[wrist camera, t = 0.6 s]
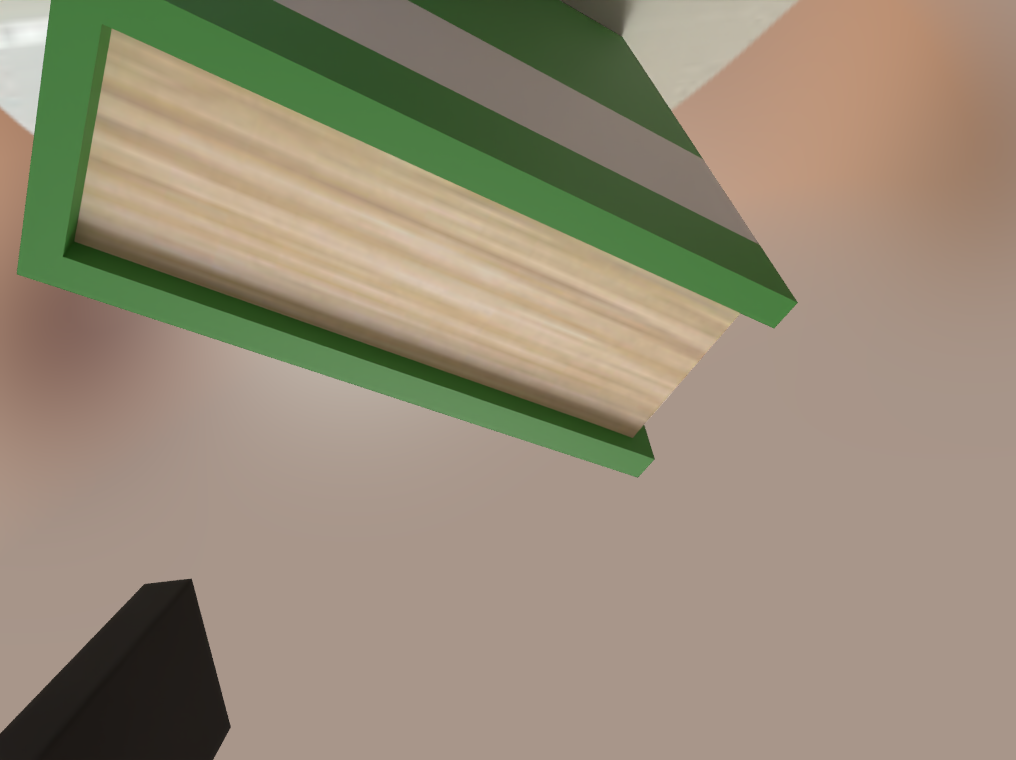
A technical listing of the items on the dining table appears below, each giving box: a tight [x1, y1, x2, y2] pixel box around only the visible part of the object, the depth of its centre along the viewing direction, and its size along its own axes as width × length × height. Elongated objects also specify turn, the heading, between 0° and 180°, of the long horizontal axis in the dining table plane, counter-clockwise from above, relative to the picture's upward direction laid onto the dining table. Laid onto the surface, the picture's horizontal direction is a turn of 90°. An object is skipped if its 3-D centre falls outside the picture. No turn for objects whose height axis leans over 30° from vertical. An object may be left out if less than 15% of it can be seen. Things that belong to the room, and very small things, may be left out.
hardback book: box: [17, 0, 798, 477], centre depth 27 cm, size 18×7×24 cm, turn 62°
